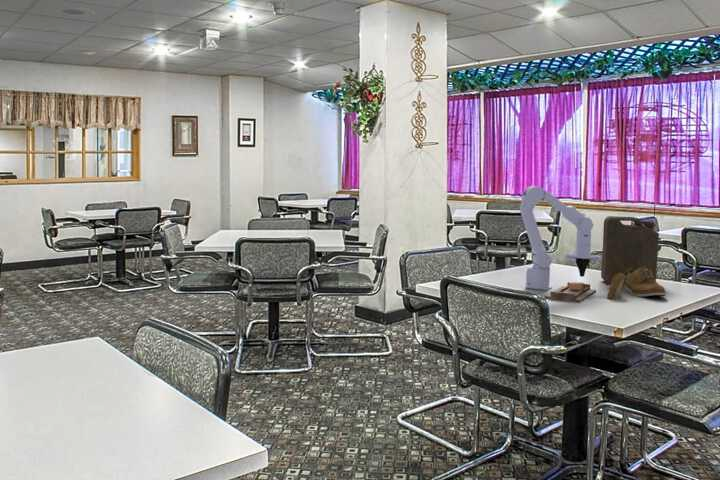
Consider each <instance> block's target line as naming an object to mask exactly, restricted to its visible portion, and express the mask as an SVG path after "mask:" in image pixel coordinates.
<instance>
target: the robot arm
mask: <svg viewBox="0 0 720 480" xmlns="http://www.w3.org/2000/svg"><path fill="white" fill-rule="evenodd" d="M521 196H522V197H521V202H520V206H519V211H520V214H521V218H522V221H523V224H524V227H525V230H526V235H527V237H528V240H529V243H530V246H531V253H532V255H531V260H532V263H533V265H532V266H528V267H527V269H526V273H525V274H526V275H525V276H526V277H525V289H533V290H542V291H543V290H544V291H547V290H551V289H552V288H553V286H552V285H550V278H551V277H550V275H551V265H552V257H551V255H550V254H549V253H548V251H547V249H546V247H545V245H544V242H543V239H542V236H541V233H540V230H539V227H538V223H537V221H536V217H535V214H534V208H535V207H536V205H537V204H538V203H540V202H544V203H545V202H546V203H548V204H550V205H551V206H552V207H554V208H555V209H557V210H558V211H559V212H561V215H562V217H563V218H564V219H565V220H567V221H568V222H569V223H571V224H572V225H574V226H575V228H576V230H577V231H576V245H575V247H576V248H575V253H565V255H564V258H565V259H567V260H569V259H572V260H575V261H574V262H575V264H576V266H577V269H578V272H579V277H585V274H586V270H587V268H588V266H589V263H590V262H591V261H596V262H602V255H593V254H591V241H592V240H591V239H592V229H593V228H594V225H595V224H594V222H593V220H592V219H591V218H589V217H586V214H585V213H582V212H580V211H579V210H578V209H577V207H576V206H574V205H573V206H572V205H566V204H564V203H563V202H562V201H560V200H559V199H558V198H557V197H556V196H554V195H553V194H552V193H550V192H549V191H547V190H545V189H543V188H542V187H540V186H534V185H530V186H528V187H526V189H525V190H524V191H523V192H522V195H521Z"/></svg>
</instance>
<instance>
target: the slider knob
mask: <svg viewBox="0 0 720 480" xmlns="http://www.w3.org/2000/svg"><path fill="white" fill-rule="evenodd" d="M569 282H570V283H569V289H573V290H582V289H583V285H584V284H585V283H584V282H577V281H569Z"/></svg>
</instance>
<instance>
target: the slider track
mask: <svg viewBox="0 0 720 480" xmlns="http://www.w3.org/2000/svg"><path fill="white" fill-rule="evenodd" d="M570 282H571V281H567V285H562V286H560V287H558V288H557V289H554V290H553V291H552V290H551V291H550V292H549V293H547V294H545V295H544V297H545V298H544V299H546V298H547V299H548V300H556V301H557V300H558V301H563V300H564V301H563V302H565V301H566V302H572V301H575V303H582V302H584V299H585V300H586V299H588V298H590V296H592V295H594V294H595V293H596V291H597V289H594V288H591V284H590V283H584V285H583V289H582V290H573V289H569V283H570ZM581 301H582V302H581Z"/></svg>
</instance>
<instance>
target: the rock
mask: <svg viewBox="0 0 720 480" xmlns="http://www.w3.org/2000/svg"><path fill="white" fill-rule="evenodd" d="M624 279H625V275H624V274H623V273H618V274H617V275H615V276H614V277H613V278H612V283H611V284H610V287H609V289H608V293H607V295H606V298H607V299H609V300H613V299H615V298H619V297H620V296H621V295H622V290H623V285H624V284H623V282H624Z"/></svg>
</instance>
